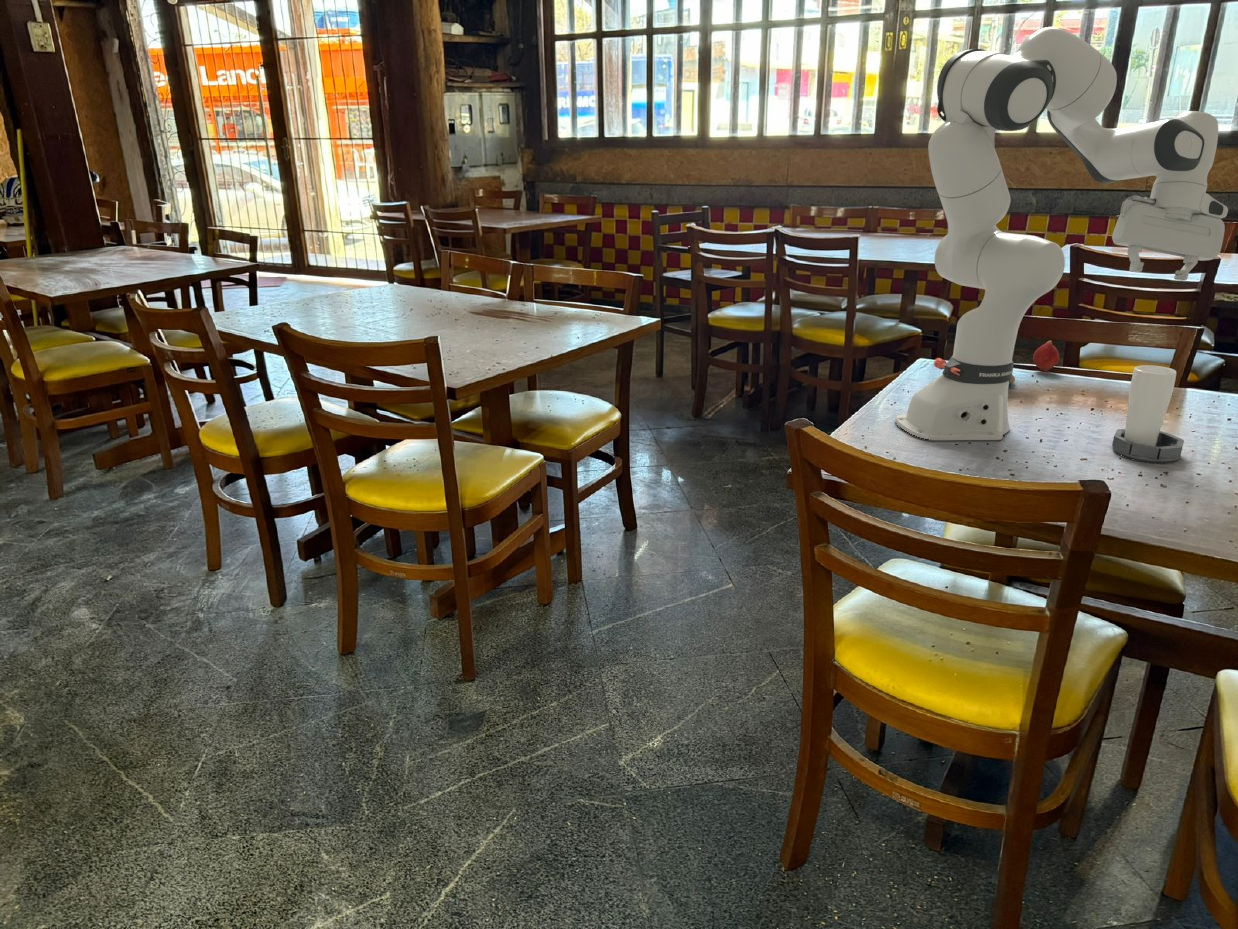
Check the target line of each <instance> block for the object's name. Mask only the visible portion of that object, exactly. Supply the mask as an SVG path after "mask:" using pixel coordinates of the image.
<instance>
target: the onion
mask: <svg viewBox="0 0 1238 929" xmlns="http://www.w3.org/2000/svg"><path fill="white" fill-rule="evenodd" d="M1032 357H1033V358H1032V360H1033V363H1034V365H1035V366H1036V367H1037V368H1038V369H1039V370H1040V371H1041V372H1043V371H1045V372H1048V371H1050V370H1051V369H1052V368H1054V367H1055V366H1056V365H1058V363H1059V361H1060V353H1059V351H1058V349H1057V348H1056V346H1055V345H1053V341H1052V340H1047V341H1046V342H1045V343H1044V344H1042V345H1041V346H1039V347H1037V349H1036V350H1035V351H1034V353H1033V356H1032Z"/></svg>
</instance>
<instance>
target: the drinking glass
mask: <svg viewBox="0 0 1238 929" xmlns="http://www.w3.org/2000/svg"><path fill="white" fill-rule="evenodd" d="M1176 377H1177V370H1175V369H1173V368H1170V367H1166V366H1160V365H1151V364H1150V365H1149V364H1146V365H1145V364H1144V365H1143V364H1142V365H1137V366H1134V369H1133V372H1132V377H1131V380H1130V381H1131V382H1130V385H1129V392H1128V402H1127V411H1126V412H1127V413H1126V419H1125V420H1126V421H1125V428H1124V429H1125V435H1124V438H1125V439H1127V440H1129V441H1131V442H1133V443H1137V444H1143V445H1149V446H1155V447H1156V443H1157V439H1158V435H1159V432H1160V431H1161V429H1162V425H1163V423H1164V419H1165V417H1166V413H1167V411H1168V408H1169V405H1170V402H1171V398H1172V395H1173V391H1174V387H1175V382H1176Z"/></svg>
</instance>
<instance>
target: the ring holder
mask: <svg viewBox="0 0 1238 929" xmlns="http://www.w3.org/2000/svg"><path fill="white" fill-rule="evenodd" d="M1124 435H1125V428H1120V429H1119V428H1118V429H1116V431H1115V433H1114V435H1113V440H1112V443H1111V444H1112V445H1111V446H1112V448H1111V449H1113V450H1112V451H1113V452H1114V453H1115V452H1116V453H1117V454H1116V453H1115V454H1116V455H1118V454H1119V455H1118V456H1120V455H1122V456H1124V457H1123V458H1125V457H1126V458H1125V459H1127V460H1128V459H1129V460H1131V459H1134V460H1133V461H1135V460H1136V462H1140V463H1146V462H1149V463H1148V464H1155V463H1157V464H1158V465H1163V464H1166V463H1167V464H1173V463H1174V464H1175V463H1177V462H1178V461H1179V460H1180V459H1181V455H1182V451H1183V448H1184V443H1185V440H1184V439H1183V438H1181V437H1178V436H1175V435H1174V434H1171V433H1169V432H1165V431H1161V430H1160V432H1159V435H1158V439H1157V443H1156V447H1155V446H1149V445H1143V444H1137V443H1133V442H1131V441H1129V440H1127V439H1125V438H1124ZM1122 456H1121V457H1122ZM1159 463H1160V464H1159Z"/></svg>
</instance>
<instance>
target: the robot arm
mask: <svg viewBox="0 0 1238 929" xmlns="http://www.w3.org/2000/svg"><path fill="white" fill-rule="evenodd" d="M1117 74H1118V73H1117V71H1116V69H1115V67H1114V65H1113V64H1112V62H1111V61H1110V60H1109V59H1108V58H1107V57H1106V56H1105V55H1104V54H1102V53H1101V52H1100V51H1099V50H1098V49H1097V48H1095V47H1094V46H1092V45H1091V44H1090V43H1088V42H1087V41H1086V40H1084V39H1082V38H1080V37H1079V36H1077V35H1076V34H1074V33H1071V32H1070V31H1067V30H1065V29H1063V28H1060V27H1058V26H1057V27H1056V26H1048V27H1042V28H1041V29H1037V30H1036V31H1035V32H1033V33H1032V34H1030V35H1029V36H1028V37H1026V39H1025V40H1024V41H1023V42H1022V43H1021V45H1020V46H1019V48H1018V49H1017V52H1015V53H1014V54H1012V55H1010V54H1007V53H1004V52H999V51H991V50H985V49H983V48H972V49H966V50H962V51H960V52H957V53H955V54H953V55H952V56H951V57H949V59H948V60H947V61H946V62H945V63H944V64H943V66H942V68H941V70H940V72H939V75H938V79H937V85H936V95H937V101H938V102H937V108H936V113H937V115H938V116H939V118H940V119H941V120H942V121H943V122H944V123H943V124H940V125H939V127H937V128H936V130H934V132H933V133H932V134H931V137H930V138H929V141H928V146H927V148H928V159H929V166H930V171H931V175H932V178H933V182H934V185H935V189H936V191H937V195H938V197H939V200H940V202H941V206H942V209H943V212H944V215H945V219H946V222H947V234H946V235H945V236H943V238H942V239H941V240H940V241H939V243H938V245H937V247H936V249H935V253H934V265H935V266H934V267H935V270H936V272H937V274H938V275H939V276H940V277H941V278H944V279H946V280H947V281H949V282H952V283H954V284H957V285H959V286H964V287H969V288H976V289H980V290H981V289H982V290H984V296H983V299H982V301H981V302H980V305H978V307H975V308H973V309H971V310H968V311H967V312H965V313H964V314H963V315H962V316H961V317H960V318H959V320H958V321H957V324H956V332H955V333H956V334H955V339H954V346H953V354H952V356H951V355H950V358H949V360H948V361H947V360H944V359H942V358H940V357H937V358H935V360H933V366H934V368H937V369H939V370H942V374H941V375H939V376H938V377H937V378H935V379H934V380H933V381H932V382H929V383H928V384H927V385H925V386H924V387H923V388H921V389H920V390H918V391H916V392H915V393H914V394H913V395H912V397H911V398H910V401H909V404H908V409H907V412H906V413H903V414H898V415H896V417H895V420H894V422H895V421H896V423H897V424H896V423H895V424H896V426H897V425H899V426H900V427H901V428H903V429H904V430H905V431H908V432H909V433H910V434H909V433H908V434H909V435H911V434H912V435H911V436H913V435H916V436H917V437H916V436H915V437H916V438H918V437H920V438H919V439H921V438H925V439H929V440H928V441H1000V440H1002V439H1003V437H1004V436H1003V435H1005V434H1007V433H1008V432H1009V431H1010V423H1009V412H1008V411H1009V409H1008V405H1009V404H1008V400H1009V399H1008V398H1009V385H1010V384H1011V383H1010V381H1011V378H1012V375H1013V371H1014V360H1013V356H1014V351H1015V345H1016V342H1015V341H1016V340H1017V338H1016V336H1017V337H1018V331H1019V328H1020V324H1021V322H1022V320H1023V317H1024V316H1025V314H1026V313H1027V311H1028V309H1029V308H1030V307H1031V306H1032V305H1033V303H1035V301H1037V300H1038V299H1039V298H1040V297H1042V296H1044V295H1046V294H1048V293H1049V292H1051V291H1052V290H1053V289H1054V288H1055V287H1056V286H1057V285H1058V283H1059V282H1060V280H1061V279H1062V277H1063V274H1064V272H1065V267H1066V266H1065V265H1066V258H1065V254H1064V252H1063V249H1062V248H1061V246H1060V245H1059V244H1058V243H1056V242H1054V241H1050V240H1048V239H1045V238H1042V237H1041V236H1036V235H1034V234H1033V235H1031V234H1024V233H1023V234H1021V233H1012V232H1011V233H1010V232H1005V231H1001V230H1000V229H999V228H998V227H997V224H998V223H999V222H1001V221H1002V220H1003V218H1005V216H1006V215H1007V213H1008V210H1009V209H1010V206H1011V201H1012V199H1011V194H1010V192H1009V188H1008V187H1009V186H1008V184H1007V182H1006V178H1005V176H1004V175H1005V174H1004V172H1003V168H1002V165H1001V162H1000V158H999V155H998V154H997V151H996V148H995V146H996V145H995V136H996V130H998V131H1001V132H1002V131H1003V132H1016V131H1022V130H1023V129H1027V128H1028V127H1030V126H1031V125H1033V124H1034V123H1035V122H1036V121H1037V120H1038V119H1039V118H1040V117H1041V116H1042V115H1043V113H1044V112H1045V111H1046V112H1047V113H1046V115H1047V116H1046V117H1047V120H1048V123H1049V124H1050V126H1051V128H1052V129H1053V131H1054V132H1055V133H1056V134H1057V136H1059V137H1060V138H1061V139H1062V140H1063V141H1064V142H1065V144H1067V146H1068V147H1069V148H1070V149H1071V150H1073V152H1074V153H1075V154H1076V155H1077V156H1078V157H1079V159H1080V160H1081V161H1082V163H1083V165H1084V167H1085V169H1086V171H1087V173H1088V174H1089V176H1090V177H1091V178H1092V179H1093V180H1094V181H1096V182H1098V183H1099V184H1105V185H1107V184H1113V183H1118V182H1122V181H1125V180H1132V179H1139V178H1147V177H1153V176H1155V177H1156V179H1155V181H1154V182H1153V184H1152V188H1151V192H1150V197H1143V196H1140V195H1132V196H1129V197H1127V198H1125V199H1124V201H1122V203H1121V204H1122V205H1121V207H1120V214H1119V216H1118V218H1117V220H1116V223H1115V226H1114V230H1113V232H1112V235H1111V239H1112V241H1113V243H1114V245H1118V246H1122V247H1123V246H1124V247H1128V248H1127V251H1126V252H1127V256H1128V258H1129V262H1130V264H1129V265H1130V266H1129V272H1132V273H1141V272H1142V271H1143V268H1144V265H1145V262H1143V261H1141V258H1140V253H1142V251H1143V250H1144V251H1147V252H1154V253H1160V254H1164V255H1170V256H1175V257H1181V258H1183V261H1182V262H1183V264H1184V265H1183V266H1182V267H1181V269H1180V270H1175V272H1174V277H1173V279H1174V280H1175V281H1180V282H1183V281H1187V280H1188V277H1189V274H1190V272H1191V270H1192V269H1193V268H1195V267H1196V265H1197V264H1198V263H1199V262H1198V261H1211V260H1214V259H1216V258H1217V257H1218V256H1219V255H1220V253H1221V250H1222V247H1223V243H1224V236H1225V228H1226V226H1225V222H1224V221H1223V220H1222V219H1223V218H1226V217H1227V215H1228V212H1229V208H1228V206H1226V205H1225V204H1223V203H1222V202H1220V201H1218V200H1217V199H1216V198H1213V196H1211V195H1210V194H1209V193H1206V192H1207V189H1208V175H1209V172H1210V171H1211V169H1212V167H1213V164H1214V162H1215V158H1216V157H1215V156H1216V152H1217V146H1218V140H1219V122H1218V119H1217V117H1216V116H1214V115H1213V114H1210V113H1208V112H1204V111H1199V110H1197V111H1196V110H1190V111H1189V110H1188V111H1183V112H1180V113H1178V114H1176V115H1175V116H1174V117H1172V118H1168V119H1167V118H1166V119H1162V120H1156V121H1151V122H1147V123H1142V124H1138V125H1137V124H1135V125H1131V126H1125V127H1121V128H1119V127H1118V128H1107V127H1103V126H1102V124H1100V123H1099V122H1098V120H1097V119H1096V118H1098V117H1099V116H1100V115H1101V114H1102V113H1103V111H1105V109H1106V108H1107V107H1108V105H1109V104H1110V102H1111V100H1112V99H1113V96H1114V94H1115V92H1116V87H1117V80H1118V77H1117V76H1118V75H1117ZM941 112H942V113H941ZM942 114H943V115H942ZM899 426H898V427H899ZM900 427H899V428H900ZM901 428H900V429H901ZM904 430H903V431H904ZM925 439H924V440H925ZM930 439H931V440H930Z"/></svg>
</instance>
